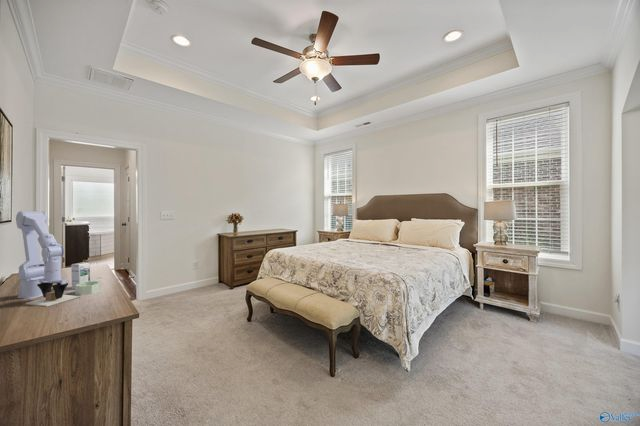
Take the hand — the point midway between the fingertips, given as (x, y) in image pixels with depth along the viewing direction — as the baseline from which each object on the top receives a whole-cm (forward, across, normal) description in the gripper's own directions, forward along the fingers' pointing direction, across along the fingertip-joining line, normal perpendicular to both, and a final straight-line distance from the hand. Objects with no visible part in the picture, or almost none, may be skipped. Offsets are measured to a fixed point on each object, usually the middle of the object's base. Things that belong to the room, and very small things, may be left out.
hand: (52, 297), depth 128 cm
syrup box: (+2, -9, +19) cm, 21 cm away
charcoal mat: (+2, 0, 0) cm, 2 cm away
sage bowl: (+2, +3, +14) cm, 14 cm away
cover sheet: (+1, 0, 0) cm, 1 cm away
